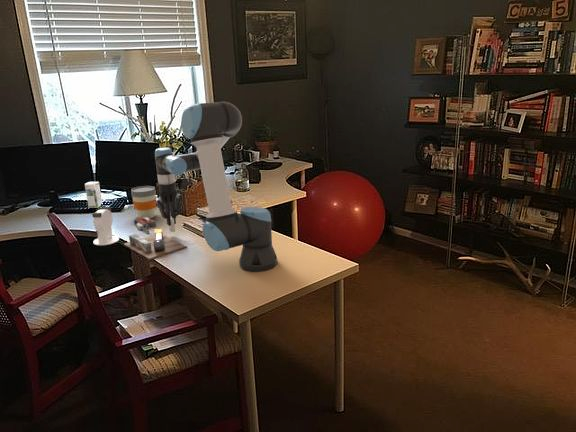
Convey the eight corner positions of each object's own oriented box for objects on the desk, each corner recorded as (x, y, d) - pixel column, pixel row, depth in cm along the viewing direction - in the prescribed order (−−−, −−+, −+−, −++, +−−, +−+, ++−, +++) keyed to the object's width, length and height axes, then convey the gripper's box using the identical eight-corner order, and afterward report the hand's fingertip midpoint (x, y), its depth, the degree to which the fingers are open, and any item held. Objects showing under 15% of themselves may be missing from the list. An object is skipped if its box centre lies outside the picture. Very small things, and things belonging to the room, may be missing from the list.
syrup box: (88, 208, 274) (84, 183, 269) (93, 205, 279) (89, 181, 274) (97, 209, 273) (93, 184, 268) (103, 205, 278) (99, 181, 274)
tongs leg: (164, 250, 208) (163, 242, 207) (154, 252, 207) (153, 243, 206) (164, 235, 227) (163, 226, 225) (154, 236, 226) (153, 228, 224)
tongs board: (187, 248, 213) (186, 238, 212) (149, 260, 202) (148, 250, 200) (160, 234, 230) (159, 226, 229) (124, 245, 219) (122, 236, 217)
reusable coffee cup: (148, 211, 266) (145, 184, 261) (163, 214, 259) (160, 187, 254) (129, 217, 256) (125, 190, 252) (144, 221, 249) (141, 193, 244)
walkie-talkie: (130, 224, 246) (146, 235, 232) (129, 216, 245) (145, 226, 230) (146, 220, 252) (163, 230, 237) (145, 212, 250) (162, 222, 235)
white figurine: (100, 235, 231) (95, 205, 227) (123, 235, 230) (119, 205, 226) (88, 245, 220) (83, 214, 215) (112, 245, 219) (107, 213, 214)
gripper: (175, 178, 226) (180, 225, 234) (149, 183, 218) (155, 232, 226) (183, 180, 221) (188, 229, 229) (157, 186, 213) (163, 236, 220)
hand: (172, 231), depth 227 cm, fingers closed
